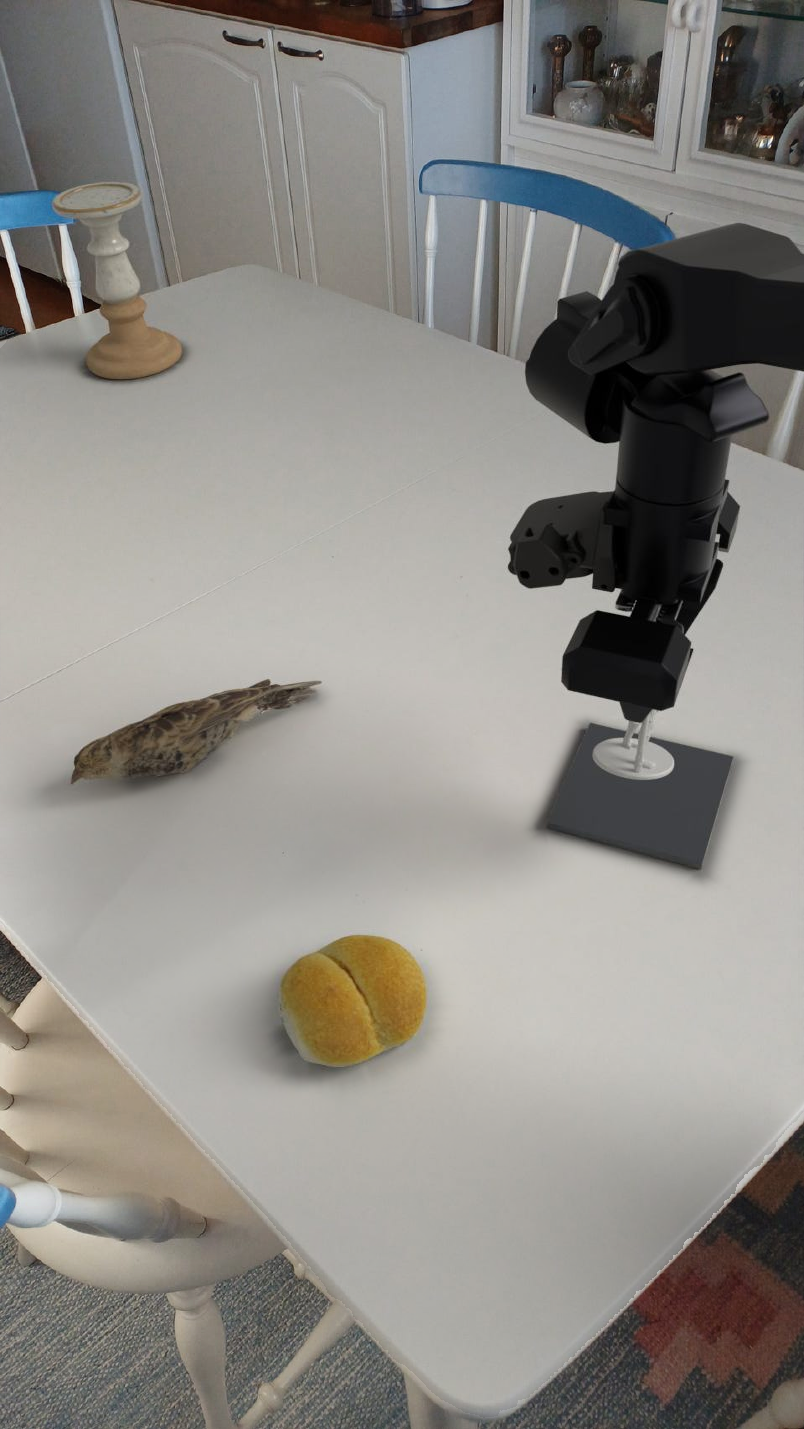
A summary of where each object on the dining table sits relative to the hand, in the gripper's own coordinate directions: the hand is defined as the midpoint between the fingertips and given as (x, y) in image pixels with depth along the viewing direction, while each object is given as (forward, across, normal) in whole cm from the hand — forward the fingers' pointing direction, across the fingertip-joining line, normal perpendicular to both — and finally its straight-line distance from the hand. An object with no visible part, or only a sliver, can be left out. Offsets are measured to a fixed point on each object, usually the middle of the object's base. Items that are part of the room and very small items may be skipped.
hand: (643, 693), depth 69 cm
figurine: (+4, +2, 0) cm, 5 cm away
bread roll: (+12, +21, -12) cm, 27 cm away
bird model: (+12, +4, -33) cm, 35 cm away
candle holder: (+12, -56, -79) cm, 98 cm away
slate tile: (+12, -3, 0) cm, 12 cm away
